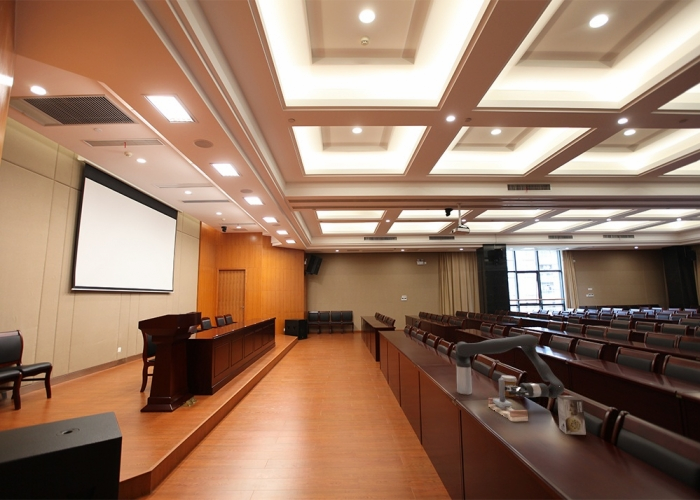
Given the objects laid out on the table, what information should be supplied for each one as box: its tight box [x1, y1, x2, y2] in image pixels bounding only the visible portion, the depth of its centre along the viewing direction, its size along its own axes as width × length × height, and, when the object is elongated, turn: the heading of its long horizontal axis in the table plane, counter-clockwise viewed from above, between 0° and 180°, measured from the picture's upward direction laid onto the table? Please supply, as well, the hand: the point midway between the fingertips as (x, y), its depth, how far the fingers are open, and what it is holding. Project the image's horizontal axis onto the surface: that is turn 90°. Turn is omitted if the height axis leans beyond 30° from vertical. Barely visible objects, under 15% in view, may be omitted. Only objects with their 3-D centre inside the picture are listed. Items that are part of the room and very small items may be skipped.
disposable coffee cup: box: [500, 374, 517, 398], centre depth 214 cm, size 10×10×12 cm
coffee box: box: [556, 394, 587, 436], centre depth 158 cm, size 9×6×16 cm
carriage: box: [493, 378, 514, 409], centre depth 185 cm, size 8×7×15 cm
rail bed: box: [487, 397, 529, 422], centre depth 181 cm, size 22×9×5 cm, turn 8°
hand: (504, 390), depth 186 cm, fingers open, 8 cm apart
